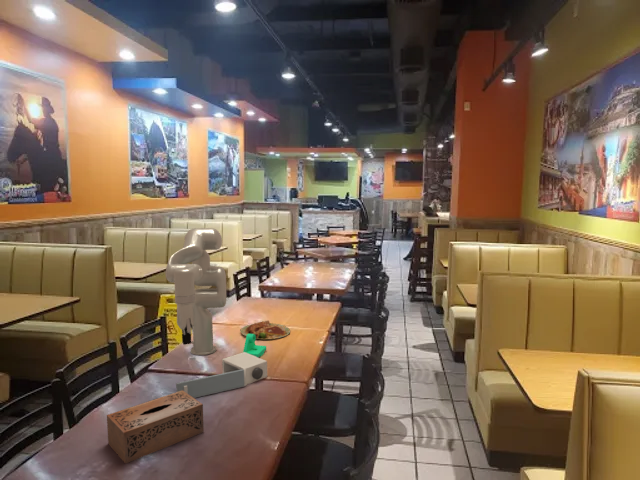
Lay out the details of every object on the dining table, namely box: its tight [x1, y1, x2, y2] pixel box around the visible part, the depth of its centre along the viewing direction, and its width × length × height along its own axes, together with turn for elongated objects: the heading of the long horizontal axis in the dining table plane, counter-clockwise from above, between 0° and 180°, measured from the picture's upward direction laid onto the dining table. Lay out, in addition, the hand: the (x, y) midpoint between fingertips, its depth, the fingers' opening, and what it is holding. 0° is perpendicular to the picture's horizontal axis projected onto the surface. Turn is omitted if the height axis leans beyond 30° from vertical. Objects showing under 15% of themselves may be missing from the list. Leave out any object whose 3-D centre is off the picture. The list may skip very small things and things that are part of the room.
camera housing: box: [221, 351, 268, 386], centre depth 197 cm, size 18×12×7 cm
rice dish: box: [239, 320, 291, 340], centre depth 256 cm, size 28×28×5 cm
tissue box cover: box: [106, 390, 205, 464], centre depth 148 cm, size 26×14×10 cm, turn 133°
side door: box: [175, 369, 247, 399], centre depth 179 cm, size 28×2×7 cm, turn 120°
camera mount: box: [242, 334, 267, 358], centre depth 222 cm, size 12×8×10 cm, turn 166°
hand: (186, 343), depth 182 cm, fingers closed
